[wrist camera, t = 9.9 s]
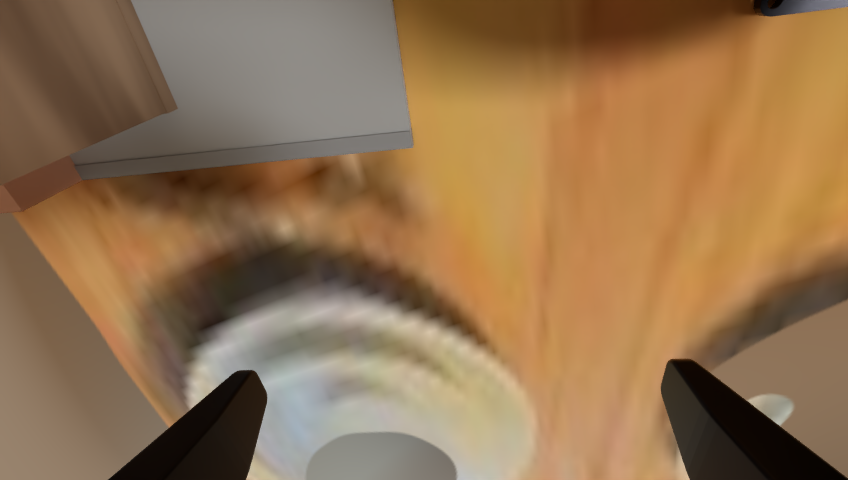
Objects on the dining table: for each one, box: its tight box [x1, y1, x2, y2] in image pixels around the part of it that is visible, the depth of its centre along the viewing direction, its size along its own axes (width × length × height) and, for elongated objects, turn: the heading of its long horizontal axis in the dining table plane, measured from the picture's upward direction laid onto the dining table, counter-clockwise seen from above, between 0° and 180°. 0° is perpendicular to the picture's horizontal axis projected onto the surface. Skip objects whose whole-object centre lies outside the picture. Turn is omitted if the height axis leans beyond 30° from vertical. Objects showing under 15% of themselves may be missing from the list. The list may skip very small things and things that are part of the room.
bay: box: [0, 0, 414, 213], centre depth 16 cm, size 19×12×4 cm, turn 97°
